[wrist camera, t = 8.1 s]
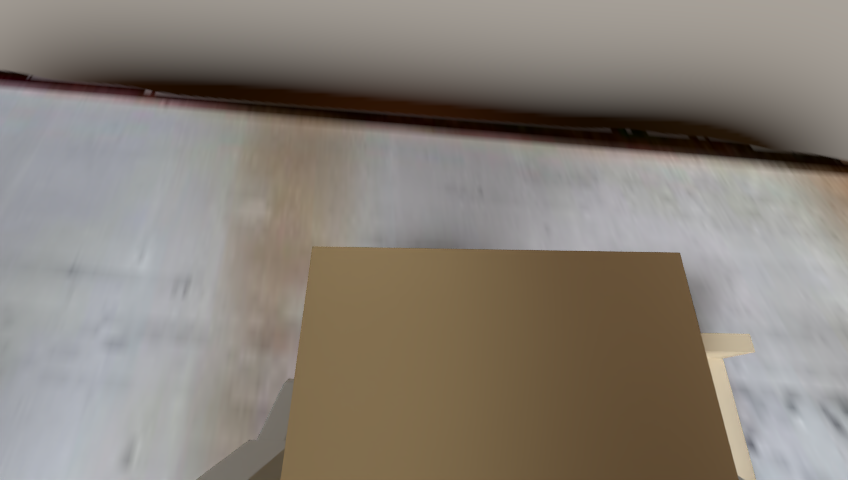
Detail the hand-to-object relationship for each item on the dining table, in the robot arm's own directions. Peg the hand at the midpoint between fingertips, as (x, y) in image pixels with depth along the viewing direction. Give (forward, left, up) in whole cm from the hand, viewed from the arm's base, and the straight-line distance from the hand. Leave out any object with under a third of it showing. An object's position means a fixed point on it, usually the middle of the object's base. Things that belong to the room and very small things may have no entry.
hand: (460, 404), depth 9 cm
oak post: (0, -1, -6) cm, 6 cm away
